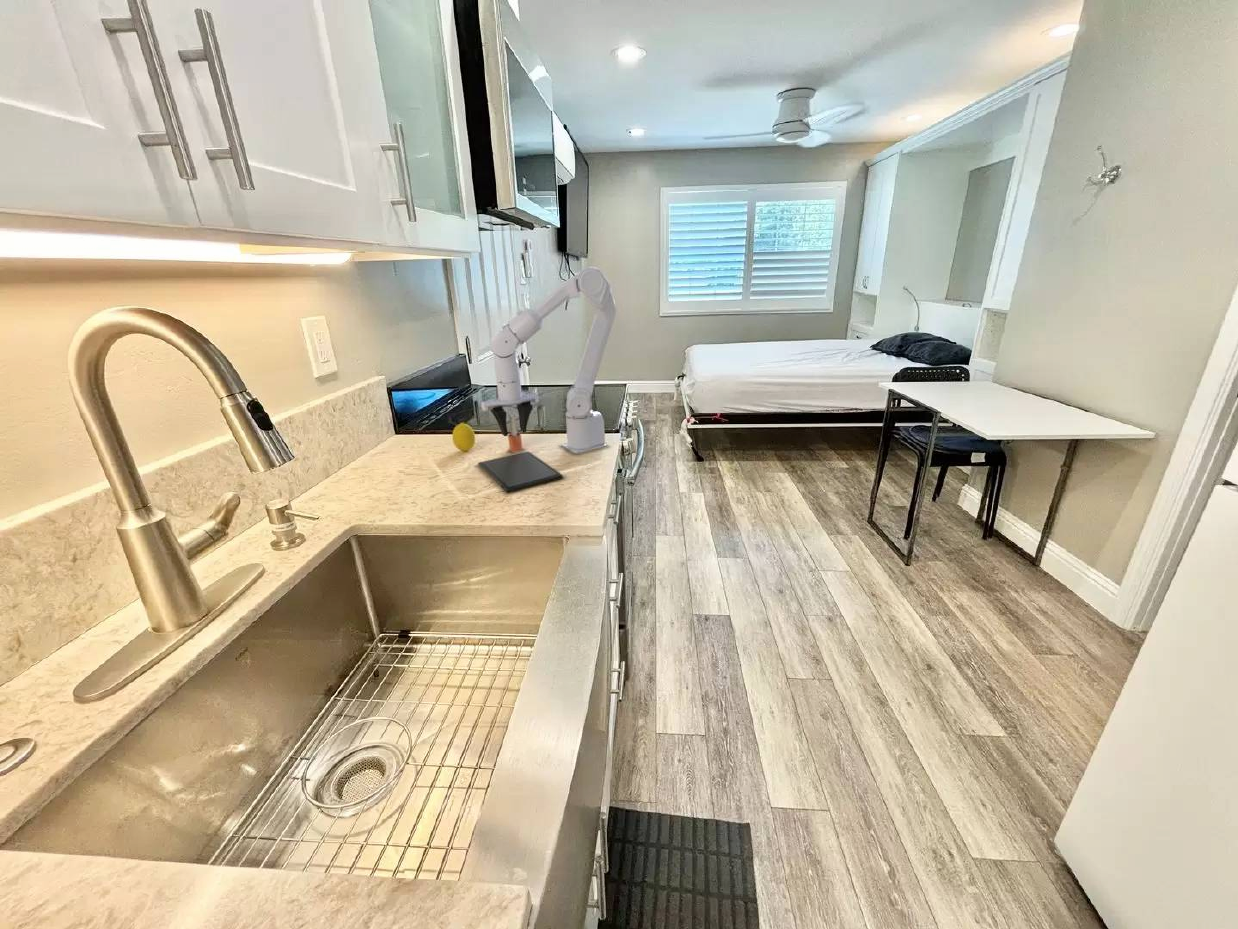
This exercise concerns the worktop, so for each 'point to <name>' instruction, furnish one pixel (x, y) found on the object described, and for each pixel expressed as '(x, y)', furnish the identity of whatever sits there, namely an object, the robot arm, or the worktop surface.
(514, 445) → the holder
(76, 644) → the worktop surface
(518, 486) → the tablet
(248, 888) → the worktop surface
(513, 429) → the stylus
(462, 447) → the lemon
